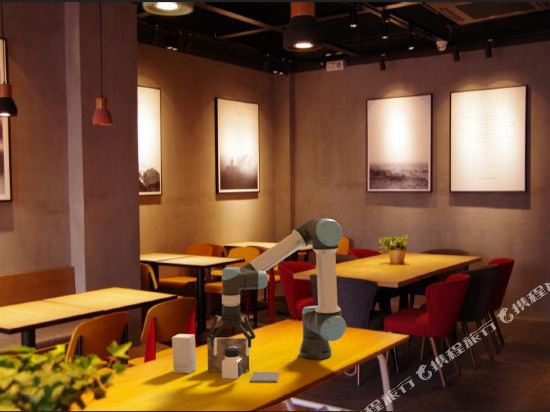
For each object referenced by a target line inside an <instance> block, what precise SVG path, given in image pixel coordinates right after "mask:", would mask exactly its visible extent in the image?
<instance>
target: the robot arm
mask: <svg viewBox="0 0 550 412" xmlns="http://www.w3.org/2000/svg"><path fill="white" fill-rule="evenodd" d="M342 239H343V229H342V226H341V224H339V223H338V222H337V221H336V220H334V219H332V218H331V219H330V218H322V217H321V218H320V217H314V218H311V219H308V220H307V221H305V222H303V223H302V224H300V225H299V226H297V227H295V228H294V229H292V232H291V233H290V235H288V236H286V237H285V238H284V239H282V240H281V241H279V242H278V243H276V244H275V245H273V246H272V247H270V248H268V249H267V250H266V251H264V252H262V253H261V254H259V255H257V257H255V258H254V259H252V260H250V261H249V262H247V263H246V264H245V265H243V266H238V267H237V266H236V267H235V266H233V267H232V266H231V267H224V268H222V272H221V290H222V291H221V304H222V306H221V313H222V314H221V316H220V315H218V314H216V315H215V316H214V320H213V323H212V324H211V328H210V329H209V331H208V333H207V335H206V337H207V338H210V339H211V346H212V347H214V355H216V354H217V338H218V337H217V336H218V335H219V333H220V332H222V330H223V329H224V328H225V326H226V327H227V328H235V327H236V328H237V329H238V330H239V331H240V332H241V333H242V334H243V335H244V338H247V340H246V356H248V355H249V356H250V348H252V340H254V339H256V334H255V331H254V329H253V328H252V326H251V324H250V321H249V318H248V315H245V316H241V305H240V304H241V291H242V290H257V289H258V290H259V289H266V287H267V286H268V282H269V278H268V275H267V271H269V270H270V269H272V268H273V267H274V266H276V265H277V264H278V263H280V262H282V261H283V260H285V259H286V258H288V257H289V256H291V255H292V254H294V253H295V252H297V251H298V250H300V249H301V248H302V249H305V248H306V247H309V245H312V246H311V247H312V250H313V251H314V252H315V256H316V257H315V259H316V260H315V261H316V282H317V283H316V285H317V304H318V305H311V306H310V305H309V306H304V307H303V308H302V314H301V316H302V341H301V344H300V347H299V357H300V358H302V359H307V360H323V359H328V358H331V356H332V353H333V351H332V347H331V345H330V342H336V341H338V340H340V339H342V337H343V336H344V334H345V333H346V330H347V324H346V321H345V319H344V318H343V317H342V309H341V307H340V306H339V305H338V288H337V287H338V284H337V263H336V262H337V261H336V260H337V259H336V252H337V251H338V250H339V246H340V245H339V243H340V242H341V241H342ZM220 321H221V322H222V324H221V325H220V327H219V328H218V329H217V330H216V332H214V330H215V328H216V326H217V325H218V322H220ZM241 321H242V322H244V324H245V327H246V328H247V330H246V328H245V327H243V325H242V323H241ZM213 332H214V333H213Z"/></svg>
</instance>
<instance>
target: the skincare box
mask: <svg viewBox="0 0 550 412" xmlns="http://www.w3.org/2000/svg"><path fill="white" fill-rule="evenodd" d="M195 337H196V336H195V334H191V333H190V334H189V333H188V334H187V333H178V334H176V335H174V336H172V337H171V344H172V347H171V348H172V365H173V366H172V367H173V373H176V374H177V373H179V374H180V373H181V374H191V373H193V372H195V371H196V370H197V358H196V357H197V356H196V340H195V339H196V338H195Z"/></svg>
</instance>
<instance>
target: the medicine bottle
mask: <svg viewBox="0 0 550 412" xmlns="http://www.w3.org/2000/svg"><path fill="white" fill-rule="evenodd" d="M242 375H243V365H242V357H239V348H237V347H228V348H226V349H225V359H224V360H223V361H222V371H221V378H222V379H228V380H229V379H233V380H235V379H236V380H239V379H240V377H241V376H242Z"/></svg>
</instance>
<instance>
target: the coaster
mask: <svg viewBox="0 0 550 412" xmlns="http://www.w3.org/2000/svg"><path fill="white" fill-rule="evenodd" d="M279 377H280V371H253V373H252V375H251V377H250V379H249V382H250V383H278V380H279Z"/></svg>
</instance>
